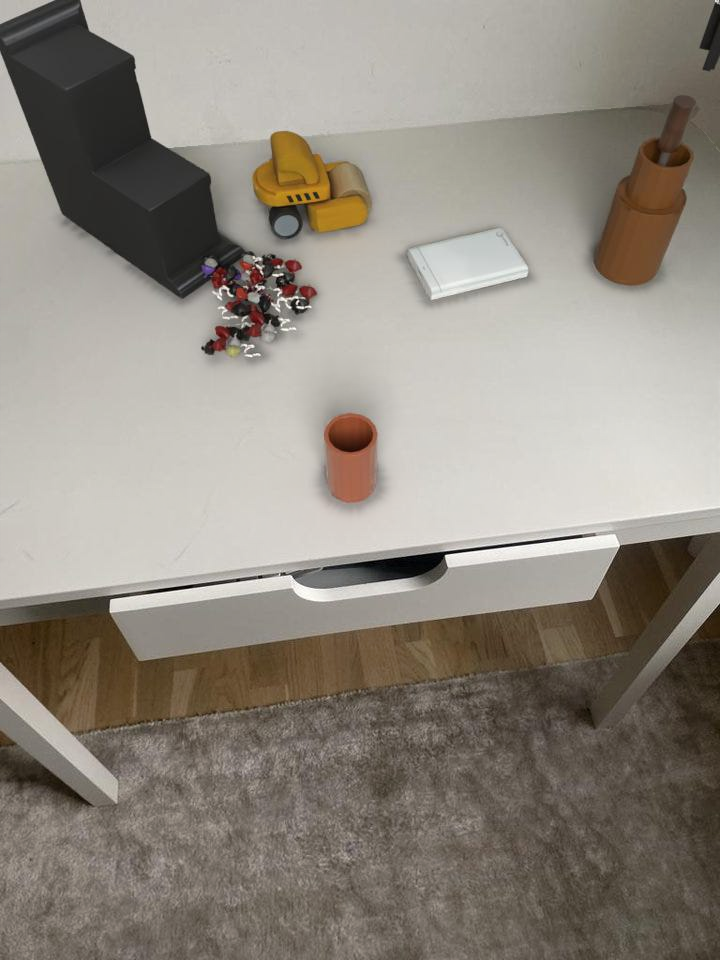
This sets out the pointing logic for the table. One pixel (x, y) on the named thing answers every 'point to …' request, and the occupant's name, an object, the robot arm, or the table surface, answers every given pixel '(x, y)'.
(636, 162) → the flask
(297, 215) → the toy roller
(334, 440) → the holder
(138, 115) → the black stepped block
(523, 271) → the hard drive
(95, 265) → the table surface
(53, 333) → the table surface
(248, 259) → the toy collection
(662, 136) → the brush
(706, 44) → the robot arm
